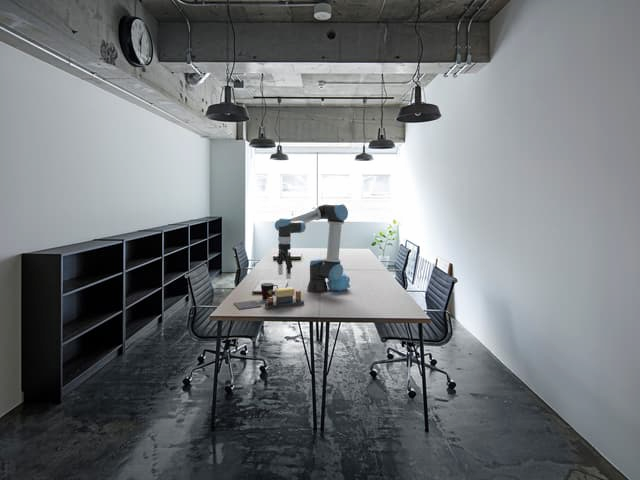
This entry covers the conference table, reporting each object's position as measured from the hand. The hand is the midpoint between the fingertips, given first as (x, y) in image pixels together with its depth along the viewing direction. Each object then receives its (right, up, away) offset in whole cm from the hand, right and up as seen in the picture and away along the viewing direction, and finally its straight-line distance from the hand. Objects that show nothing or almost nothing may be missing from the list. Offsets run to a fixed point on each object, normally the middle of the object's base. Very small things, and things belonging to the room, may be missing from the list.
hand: (284, 276), depth 238 cm
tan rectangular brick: (0, -12, +2) cm, 12 cm away
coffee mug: (-12, -17, +19) cm, 28 cm away
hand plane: (0, -19, +2) cm, 19 cm away
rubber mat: (-24, -19, +3) cm, 30 cm away
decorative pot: (+36, -14, +45) cm, 60 cm away
